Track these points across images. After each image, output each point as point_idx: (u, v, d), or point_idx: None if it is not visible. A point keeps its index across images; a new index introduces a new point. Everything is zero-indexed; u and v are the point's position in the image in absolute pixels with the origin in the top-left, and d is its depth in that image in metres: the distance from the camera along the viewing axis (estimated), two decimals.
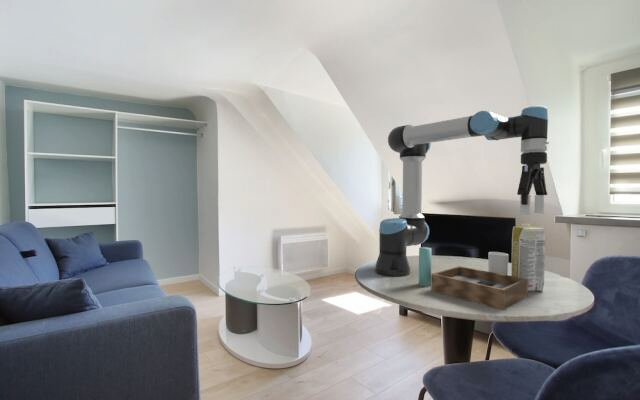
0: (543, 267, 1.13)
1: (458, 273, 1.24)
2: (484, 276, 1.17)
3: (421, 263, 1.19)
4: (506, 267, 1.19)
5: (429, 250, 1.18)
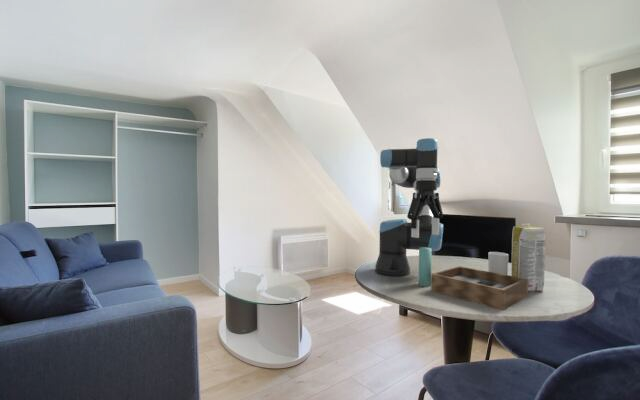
0: (543, 267, 1.13)
1: (458, 273, 1.24)
2: (484, 276, 1.17)
3: (421, 263, 1.19)
4: (506, 267, 1.19)
5: (429, 250, 1.18)
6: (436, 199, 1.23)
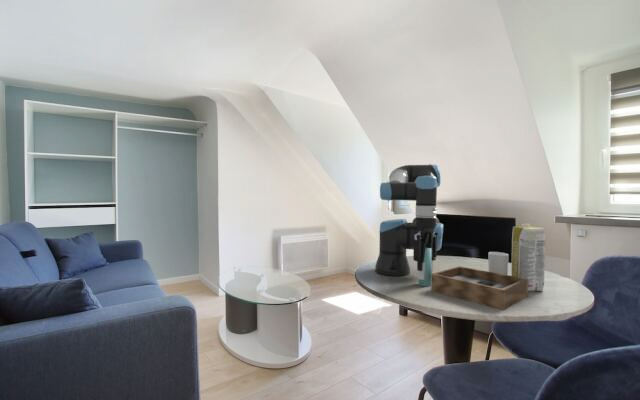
0: (543, 267, 1.13)
1: (458, 273, 1.24)
2: (484, 276, 1.17)
3: None
4: (506, 267, 1.19)
5: (429, 250, 1.18)
6: (434, 238, 1.23)
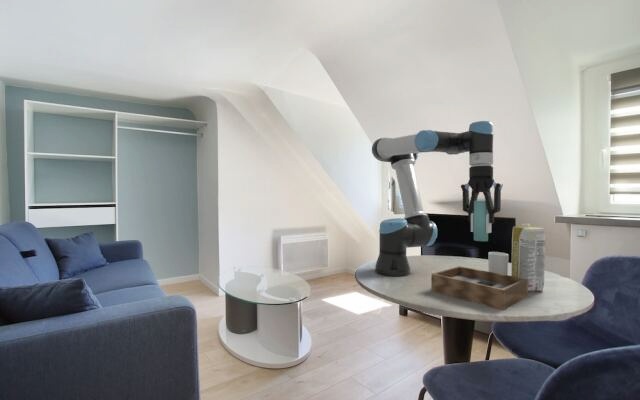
0: (543, 267, 1.13)
1: (458, 273, 1.24)
2: (484, 276, 1.17)
3: None
4: (506, 267, 1.19)
5: (476, 202, 1.11)
6: None
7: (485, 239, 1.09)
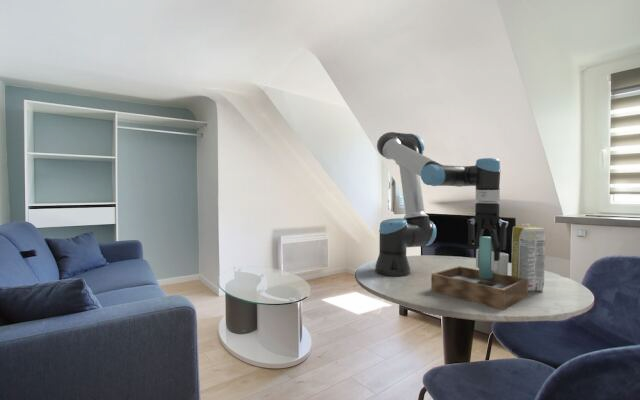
0: (543, 267, 1.13)
1: (458, 273, 1.24)
2: None
3: None
4: (506, 267, 1.19)
5: (482, 238, 1.11)
6: None
7: (490, 276, 1.09)
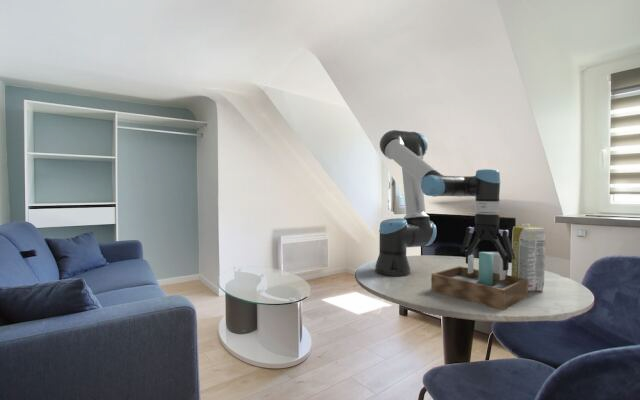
0: (543, 267, 1.13)
1: (458, 273, 1.24)
2: None
3: None
4: None
5: (481, 254, 1.11)
6: None
7: None
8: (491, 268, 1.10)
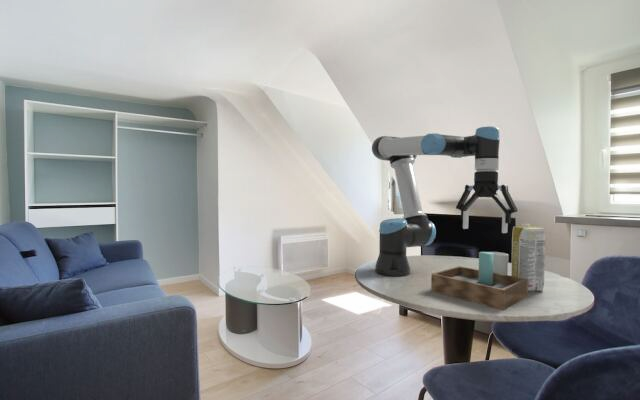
0: (543, 267, 1.13)
1: (458, 273, 1.24)
2: None
3: None
4: (506, 267, 1.19)
5: (481, 254, 1.11)
6: None
7: None
8: (491, 268, 1.10)
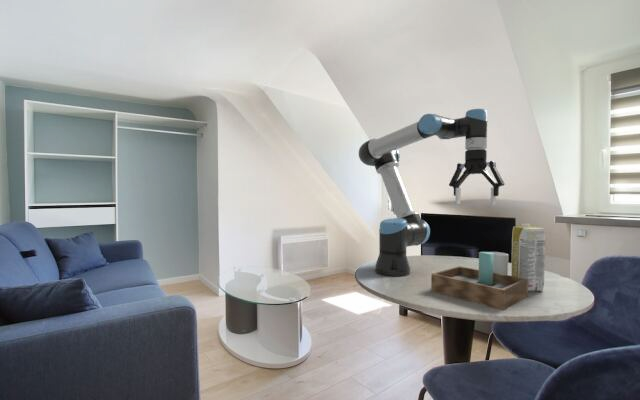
0: (543, 267, 1.13)
1: (458, 273, 1.24)
2: None
3: None
4: (506, 267, 1.19)
5: (481, 254, 1.11)
6: None
7: None
8: (491, 268, 1.10)
